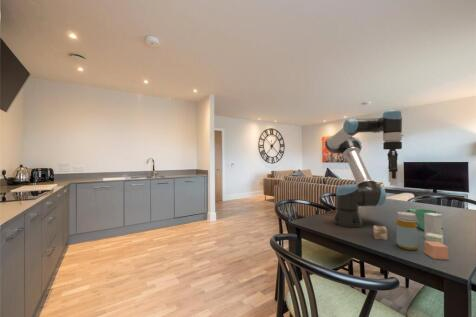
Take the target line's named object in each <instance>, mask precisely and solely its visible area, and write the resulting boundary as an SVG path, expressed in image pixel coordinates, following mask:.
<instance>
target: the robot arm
mask: <svg viewBox="0 0 476 317" xmlns="http://www.w3.org/2000/svg"><path fill="white" fill-rule="evenodd" d="M402 127H403V117H402V111H401V110H400V109H391V110H385V111H384V112H383V113H382V117H376V118H374V117H373V118H372V117H370V118H348V119H345V121H344V122H343V126H342V128H341V129H339V130H338V131H337V132H336V133H335V134H334V135H331V136H329V137H328V138H326V140H325V141H324V142H325V143H324V146H325V149H326V150H327V151H328V152H330V153H332V154H341V156H342V157H343V158H345V159H346V161H347V164H348V167H349V168H350V171H351V173H352V176H353V178H354V180H355V183H356V184H354V183H349V184H346V183H345V184H341V185H339V186H337V187H336V190H335V191H336V192H335V195H336V196H335V197H336V211H335V214H334V217H333V223H334V224H335V225H338V226H339V227H344V228H361V227H362V226H363V220H362V218H361V216H360V213H359V207H381V206H383V205H384V204H385V202H386V200H387V199H386V198H387V192H386V190H385V188H384V187H383V186H381V185H379V186H378V184H377V182H376V181H375V180H372V178H371V176H370V173H369V171H368V169H367V168H366V166H365V163H364V161H363V159H362V157H361V154H360V153H361V151H362V147H363V146H362V143H361V140H360V138H358V137H354V136H355V135H357V134H359V133H376V134H377V133H383V134H382V141H383V143H382V144H383V147H382V148H383V150H388V152H387V161H388V166H387V168H388V183H389V185H390V186H398V171H399V169H398V156H399V155H398V154H399V153H398V151H397V150H402V148H403V142H402V140H403V139H402V137H404V134H403V131H402V130H403V129H402Z"/></svg>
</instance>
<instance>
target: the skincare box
mask: <svg viewBox="0 0 476 317" xmlns="http://www.w3.org/2000/svg"><path fill="white" fill-rule="evenodd" d="M443 218H444V216H443V214H441V213H439V214H438V212H437V213H424V227H425V230H424V239H426V234H427V233H433V234H438V235H443V236H444V224H443V223H444V222H443V220H444V219H443Z"/></svg>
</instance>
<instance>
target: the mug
mask: <svg viewBox="0 0 476 317" xmlns="http://www.w3.org/2000/svg"><path fill="white" fill-rule="evenodd" d="M406 212H410V213H413V214H415V217H416V220H417V221H416V220H415V223H416V225H417V227H420V229H421V230H423V231H425V227H424V213H437V214H440V212H437V211H436V210H433V209H422V208H418V209H412V208H408V209H407V210H406Z"/></svg>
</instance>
